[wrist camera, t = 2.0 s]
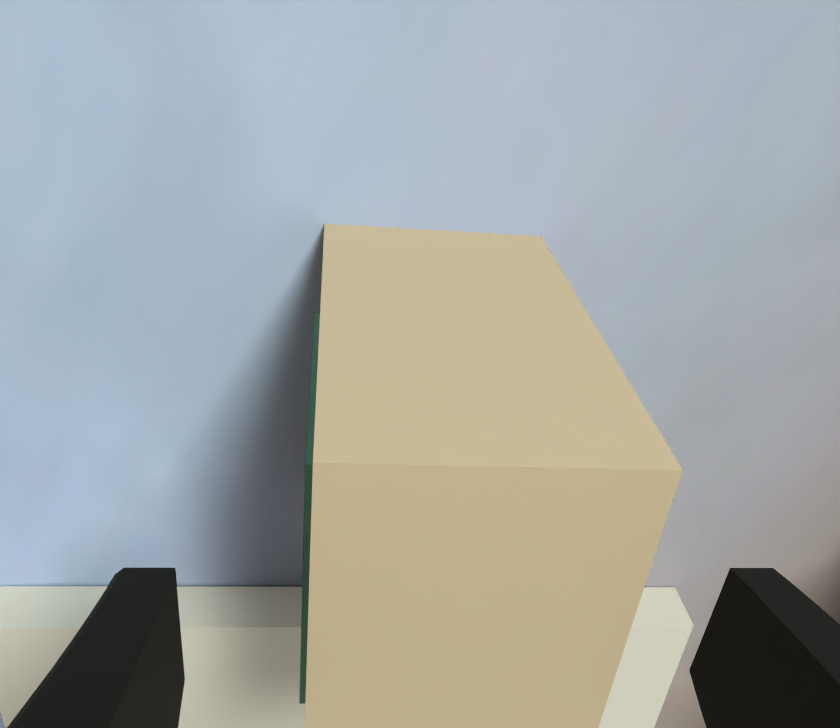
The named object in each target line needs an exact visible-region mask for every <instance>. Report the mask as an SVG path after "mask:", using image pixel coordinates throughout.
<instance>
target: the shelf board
mask: <svg viewBox="0 0 840 728" xmlns="http://www.w3.org/2000/svg"><path fill="white" fill-rule="evenodd" d="M107 587H108V586H0V713H1V716H2V720H3V724H4V727H5V728H7V727H8V726H9V724H10V723H11V722H12V720H13V719H14V718H15V716H16V715H17V714H18V713H19V711H20V710H21V709H22V707H23V706H24V705H25V703H26V702H27V701H28V699H29V698H30V697H31V695H32V694H33V693H34V691H35V690H36V689H37V687H38V686H39V685H40V683H41V682H42V681H43V679H44V678H45V677H46V675H47V674H48V673H49V671H50V670H51V669H52V667H53V666H54V665H55V663H56V662H57V660H58V659H59V658H60V656H61V655H62V653H63V652H64V651H65V649H66V648H67V646H68V645H69V643H70V642H71V641H72V639H73V638H74V636H75V635H76V634H77V632H78V631H79V629H80V628H81V626H82V625H83V623H84V622H85V620H86V619H87V617H88V616H89V614H90V613H91V611H92V610H93V608H94V607H95V605H96V604H97V602H98V601H99V599H100V598H101V596H102V595H103V593H104V591H105V590H106V588H107ZM177 594H178V605H179V617H180V629H181V640H182V652H183V663H184V675H185V682H184V689H183V696H182V703H181V710H180V717H179V725H178V728H305V704H299V694H300V654H301V614H302V587H177ZM692 628H693V624H692V622H691V619H690V617H689V615H688V613H687V611H686V609H685V607H684V605H683V603H682V601H681V599H680V597H679V595H678V593H677V591H676V589H675V587H644V590H643V593H642V596H641V599H640V602H639V605H638V608H637V611H636V614H635V617H634V620H633V624H632V627H631V630H630V633H629V636H628V639H627V642H626V645H625V648H624V651H623V654H622V657H621V660H620V663H619V666H618V669H617V672H616V675H615V678H614V681H613V684H612V687H611V690H610V694H609V697H608V700H607V703H606V706H605V709H604V712H603V715H602V718H601V721H600V724H599V727H598V728H654V726H655V724H656V721H657V718H658V716H659V713H660V711H661V708H662V706H663V703H664V700H665V698H666V695H667V693H668V690H669V687H670V685H671V682H672V680H673V677H674V674H675V672H676V669H677V667H678V664H679V661H680V659H681V656H682V654H683V651H684V648H685V646H686V643H687V641H688V638H689V636H690V633H691V630H692Z"/></svg>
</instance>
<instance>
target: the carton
mask: <svg viewBox="0 0 840 728" xmlns="http://www.w3.org/2000/svg"><path fill="white" fill-rule="evenodd" d="M682 471H683V470H682V468H681V466H680V465H679V463H678V461H677V460H676V458H675V456H674V455H673V453H672V451H671V450H670V448H669V446H668V445H667V443H666V441H665V440H664V438H663V436H662V435H661V433H660V432H659V430H658V428H657V427H656V425H655V423H654V422H653V420H652V418H651V417H650V415H649V413H648V412H647V410H646V408H645V407H644V405H643V403H642V402H641V400H640V398H639V397H638V395H637V393H636V392H635V390H634V389H633V387H632V385H631V384H630V382H629V380H628V379H627V377H626V375H625V374H624V372H623V370H622V369H621V367H620V365H619V364H618V362H617V360H616V359H615V357H614V355H613V354H612V352H611V350H610V349H609V347H608V346H607V344H606V342H605V341H604V339H603V337H602V336H601V334H600V332H599V331H598V329H597V327H596V326H595V324H594V322H593V321H592V319H591V317H590V316H589V314H588V312H587V311H586V309H585V307H584V306H583V304H582V303H581V301H580V299H579V298H578V296H577V294H576V293H575V291H574V289H573V288H572V286H571V284H570V283H569V281H568V279H567V278H566V276H565V274H564V273H563V271H562V269H561V268H560V266H559V264H558V263H557V261H556V260H555V258H554V256H553V255H552V253H551V251H550V250H549V248H548V246H547V245H546V243H545V241H544V240H543V238H542V236H527V235H510V234H492V233H475V232H458V231H441V230H423V229H406V228H389V227H372V226H354V225H337V224H324V243H323V264H322V284H321V305H320V313H315V315H314V331H313V347H312V363H311V379H310V395H309V411H308V428H307V444H306V460H305V493H304V533H303V574H302V614H301V654H300V694H299V704H305V728H598V727H599V724H600V721H601V718H602V715H603V712H604V709H605V706H606V703H607V700H608V697H609V694H610V690H611V687H612V684H613V681H614V678H615V675H616V672H617V669H618V666H619V663H620V660H621V657H622V654H623V651H624V648H625V645H626V642H627V639H628V636H629V633H630V630H631V627H632V624H633V620H634V617H635V614H636V611H637V608H638V605H639V602H640V599H641V596H642V593H643V590H644V587H645V584H646V581H647V578H648V575H649V572H650V569H651V566H652V563H653V560H654V557H655V553H656V550H657V547H658V544H659V541H660V538H661V535H662V532H663V529H664V526H665V523H666V520H667V517H668V514H669V511H670V508H671V505H672V502H673V499H674V496H675V493H676V490H677V487H678V483H679V480H680V477H681V474H682Z"/></svg>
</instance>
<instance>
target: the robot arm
mask: <svg viewBox="0 0 840 728" xmlns="http://www.w3.org/2000/svg"><path fill="white" fill-rule="evenodd" d="M689 671H690V674H691V678H692V681H693V684H694V688H695V691H696V695H697V698H698V701H699V705H700V708H701V712H702V715H703V718H704V721H705V724H706V727H707V728H840V624H838V623H837V622H836V621H835V620H834V619H833V618H832V617H830V616H829V615H828V614H827V613H826V612H825V611H824V610H822V609H821V608H820V607H819V606H818V605H817V604H815V603H814V602H813V601H812V600H811V599H810V598H808V597H807V596H806V595H805V594H804V593H803V592H801V591H800V590H799V589H798V588H797V587H795V586H794V585H793V584H792V583H791V582H790V581H788V580H787V579H786V578H785V577H783V576H782V575H781V574H780V573H778V572H777V571H776V570H775V569H773V568H730V570H729V573H728V575H727V578H726V580H725V583H724V585H723V588H722V590H721V593H720V595H719V598H718V600H717V603H716V605H715V608H714V610H713V613H712V615H711V618H710V620H709V623H708V625H707V628H706V630H705V633H704V635H703V638H702V640H701V643H700V645H699V648H698V650H697V653H696V655H695V658H694V660H693V663H692V665H691V668H690V670H689ZM184 682H185V675H184V663H183V652H182V640H181V629H180V617H179V605H178V594H177V582H176V571H175V568H123V569H122V570H120V571H119V572H118V573H116V574H115V575H114V577H113V579H112V580H111V582H110V583H109V585H108V587H107V588H106V590H105V591H104V593H103V595H102V596H101V598H100V599H99V601H98V602H97V604H96V605H95V607H94V608H93V610H92V611H91V613H90V614H89V616H88V617H87V619H86V620H85V622H84V623H83V625H82V626H81V628H80V629H79V631H78V632H77V634H76V635H75V636H74V638H73V639H72V641H71V642H70V643H69V645H68V646H67V648H66V649H65V651H64V652H63V653H62V655H61V656H60V658H59V659H58V660H57V662H56V663H55V665H54V666H53V667H52V669H51V670H50V671H49V673H48V674H47V675H46V677H45V678H44V679H43V681H42V682H41V683H40V685H39V686H38V687H37V689H36V690H35V691H34V693H33V694H32V695H31V697H30V698H29V699H28V701H27V702H26V703H25V705H24V706H23V707H22V709H21V710H20V711H19V713H18V714H17V715H16V716H15V718H14V719H13V720H12V722H11V723H10V724H9V726H8V727H7V728H178V725H179V717H180V710H181V703H182V696H183V689H184Z"/></svg>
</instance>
